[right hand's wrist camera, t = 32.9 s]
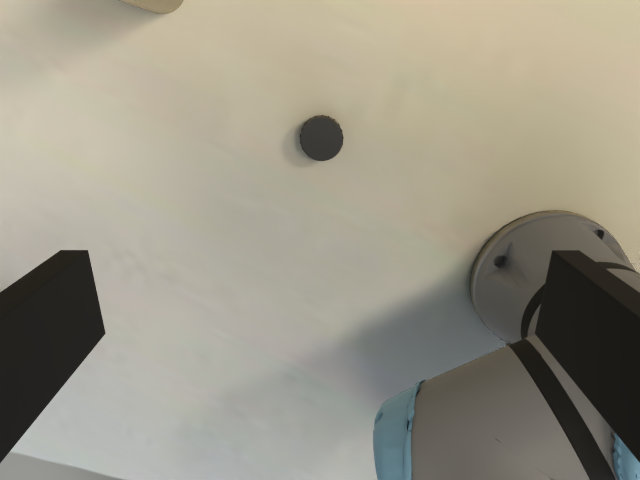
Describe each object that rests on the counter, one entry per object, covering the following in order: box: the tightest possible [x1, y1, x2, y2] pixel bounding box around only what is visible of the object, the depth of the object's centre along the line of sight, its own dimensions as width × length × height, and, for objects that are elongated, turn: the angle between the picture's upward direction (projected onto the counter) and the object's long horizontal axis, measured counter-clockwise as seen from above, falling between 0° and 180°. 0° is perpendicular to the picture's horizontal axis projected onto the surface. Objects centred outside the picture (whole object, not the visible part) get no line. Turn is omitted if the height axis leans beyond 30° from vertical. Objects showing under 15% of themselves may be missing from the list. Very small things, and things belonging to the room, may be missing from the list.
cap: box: [300, 115, 343, 161], centre depth 41 cm, size 4×4×2 cm
